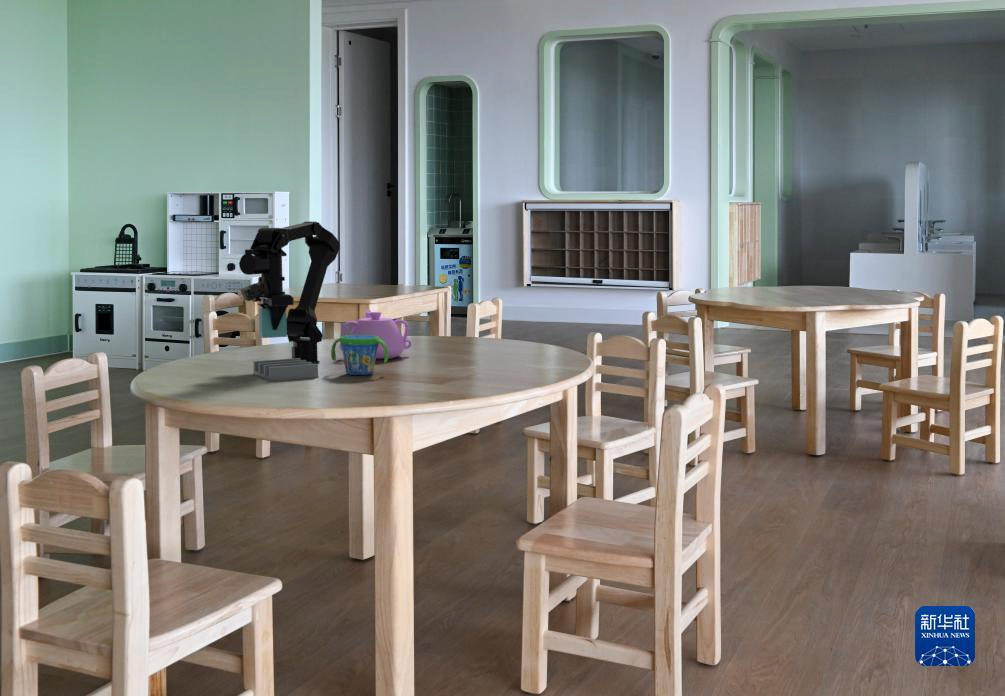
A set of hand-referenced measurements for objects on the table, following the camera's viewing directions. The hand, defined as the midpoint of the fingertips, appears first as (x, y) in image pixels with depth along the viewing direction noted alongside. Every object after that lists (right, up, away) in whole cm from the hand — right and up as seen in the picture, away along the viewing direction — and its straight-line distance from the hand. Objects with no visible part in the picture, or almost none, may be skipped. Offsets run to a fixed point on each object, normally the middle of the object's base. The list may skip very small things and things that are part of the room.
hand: (273, 329), depth 303 cm
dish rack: (+6, -13, -11) cm, 18 cm away
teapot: (+25, -8, +28) cm, 38 cm away
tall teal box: (0, -2, 0) cm, 2 cm away
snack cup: (+25, -12, -8) cm, 29 cm away
